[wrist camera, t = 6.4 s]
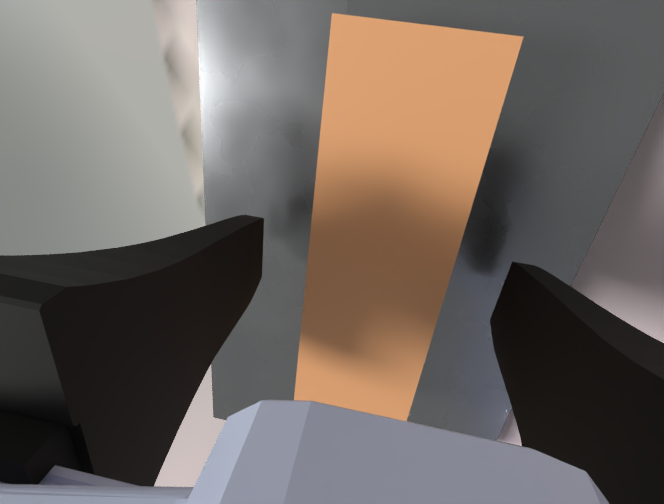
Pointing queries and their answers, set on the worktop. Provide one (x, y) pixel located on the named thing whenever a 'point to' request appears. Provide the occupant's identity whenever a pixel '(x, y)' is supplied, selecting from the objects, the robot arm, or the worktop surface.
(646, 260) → the worktop surface
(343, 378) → the clip
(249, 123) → the gray rectangular slab
